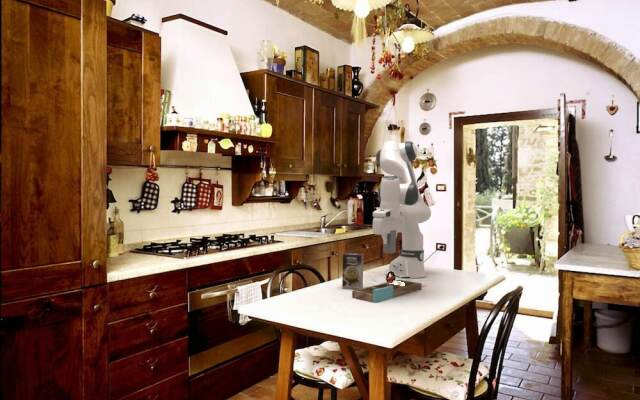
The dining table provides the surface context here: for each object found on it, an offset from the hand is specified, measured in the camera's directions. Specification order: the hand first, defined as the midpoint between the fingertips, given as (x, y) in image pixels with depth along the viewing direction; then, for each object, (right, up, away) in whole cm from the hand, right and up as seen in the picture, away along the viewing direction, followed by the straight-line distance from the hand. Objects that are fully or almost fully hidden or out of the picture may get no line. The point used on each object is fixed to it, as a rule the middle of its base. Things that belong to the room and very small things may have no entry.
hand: (389, 243), depth 203 cm
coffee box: (-15, -22, +12) cm, 30 cm away
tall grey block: (0, -4, 0) cm, 4 cm away
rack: (0, -22, +1) cm, 22 cm away
